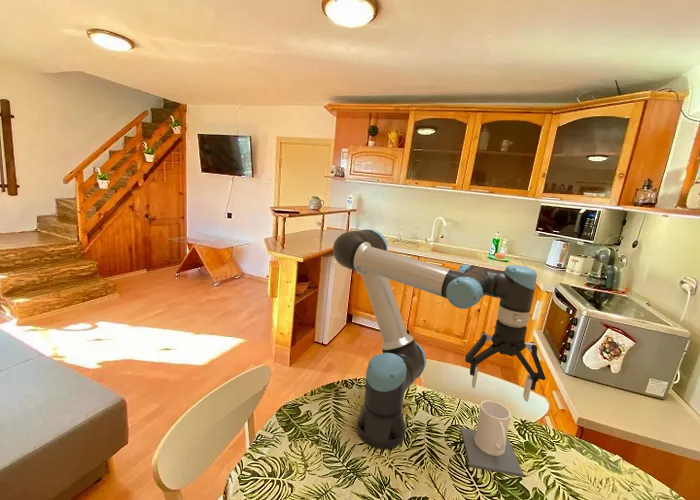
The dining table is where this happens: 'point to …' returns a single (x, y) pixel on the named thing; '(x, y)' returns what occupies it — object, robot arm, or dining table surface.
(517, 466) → the coaster
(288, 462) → the dining table surface
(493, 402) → the mug
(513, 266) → the robot arm
